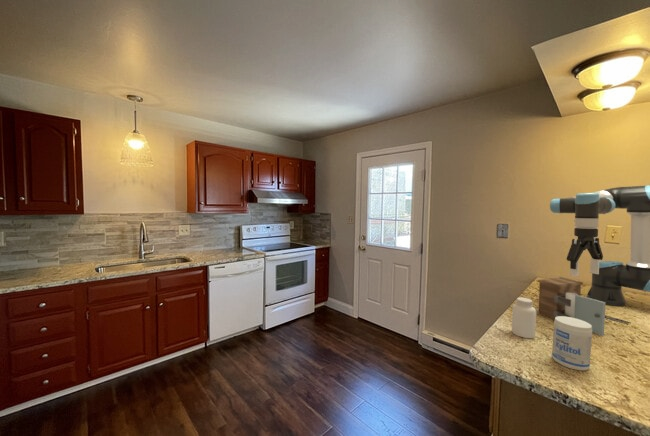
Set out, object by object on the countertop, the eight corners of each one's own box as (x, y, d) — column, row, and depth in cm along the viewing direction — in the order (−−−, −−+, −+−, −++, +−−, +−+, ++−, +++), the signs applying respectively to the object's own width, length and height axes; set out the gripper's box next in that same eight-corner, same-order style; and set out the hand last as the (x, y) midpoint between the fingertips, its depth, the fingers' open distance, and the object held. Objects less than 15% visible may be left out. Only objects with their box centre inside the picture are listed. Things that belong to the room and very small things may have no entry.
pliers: (576, 306, 142) (633, 319, 125) (576, 307, 142) (633, 321, 125) (571, 309, 136) (630, 324, 120) (571, 311, 136) (629, 326, 120)
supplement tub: (552, 364, 90) (553, 321, 89) (551, 352, 97) (553, 313, 97) (592, 375, 84) (594, 330, 83) (588, 362, 91) (590, 320, 90)
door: (568, 321, 124) (569, 292, 123) (605, 334, 111) (607, 302, 110) (562, 322, 122) (563, 292, 122) (599, 336, 110) (601, 303, 109)
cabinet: (560, 309, 138) (561, 277, 137) (595, 321, 124) (597, 285, 123) (534, 313, 133) (535, 279, 132) (568, 326, 119) (569, 288, 118)
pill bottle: (529, 340, 106) (530, 304, 105) (507, 332, 113) (508, 297, 112) (539, 336, 109) (540, 300, 109) (517, 328, 116) (518, 295, 116)
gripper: (593, 226, 124) (592, 270, 125) (556, 228, 117) (555, 275, 118) (615, 227, 117) (613, 274, 118) (577, 229, 110) (575, 279, 111)
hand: (584, 274), depth 118 cm, fingers open, 13 cm apart
